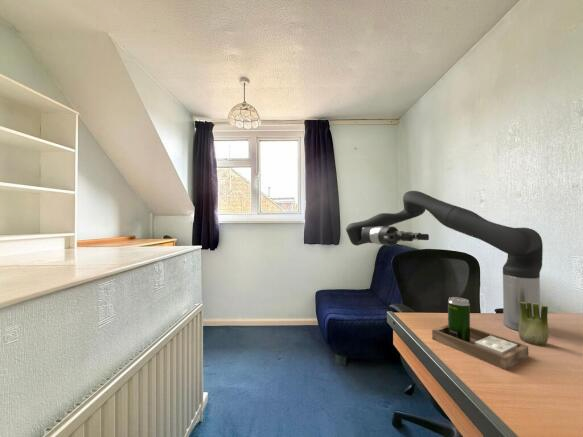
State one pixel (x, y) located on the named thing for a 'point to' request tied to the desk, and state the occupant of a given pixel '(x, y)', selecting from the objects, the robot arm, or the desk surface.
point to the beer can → (459, 318)
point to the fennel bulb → (533, 324)
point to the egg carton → (496, 345)
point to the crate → (479, 352)
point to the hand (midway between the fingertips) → (420, 237)
